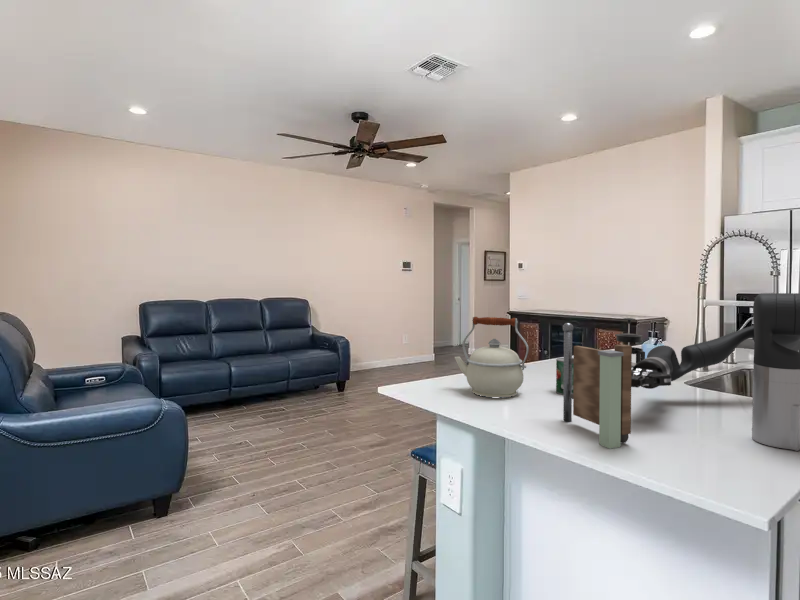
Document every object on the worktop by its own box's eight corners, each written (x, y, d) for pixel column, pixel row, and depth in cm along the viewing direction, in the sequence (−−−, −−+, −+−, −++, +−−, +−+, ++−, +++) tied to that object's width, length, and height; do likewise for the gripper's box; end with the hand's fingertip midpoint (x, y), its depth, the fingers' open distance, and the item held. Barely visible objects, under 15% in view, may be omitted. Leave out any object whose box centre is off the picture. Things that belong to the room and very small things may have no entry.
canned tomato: (552, 390, 152) (553, 357, 151) (576, 390, 151) (577, 357, 151) (560, 395, 144) (560, 361, 143) (585, 396, 143) (585, 361, 143)
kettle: (535, 391, 150) (535, 316, 149) (519, 404, 135) (519, 320, 134) (464, 383, 163) (464, 314, 162) (443, 394, 147) (442, 317, 146)
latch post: (597, 443, 101) (597, 350, 100) (610, 441, 102) (611, 350, 101) (609, 449, 97) (610, 353, 97) (622, 447, 99) (623, 352, 98)
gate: (567, 421, 116) (568, 337, 115) (575, 420, 117) (576, 337, 116) (621, 444, 99) (622, 346, 98) (630, 443, 100) (632, 345, 99)
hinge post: (575, 421, 117) (575, 322, 116) (567, 422, 116) (568, 323, 115) (567, 418, 120) (567, 322, 119) (560, 420, 118) (560, 322, 117)
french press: (606, 379, 167) (607, 317, 167) (627, 377, 170) (627, 316, 170) (632, 386, 156) (633, 319, 155) (653, 384, 159) (654, 319, 158)
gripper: (679, 389, 118) (665, 402, 105) (625, 382, 127) (605, 394, 114) (680, 360, 118) (665, 370, 105) (625, 355, 127) (605, 364, 114)
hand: (634, 382), depth 109 cm, fingers closed
